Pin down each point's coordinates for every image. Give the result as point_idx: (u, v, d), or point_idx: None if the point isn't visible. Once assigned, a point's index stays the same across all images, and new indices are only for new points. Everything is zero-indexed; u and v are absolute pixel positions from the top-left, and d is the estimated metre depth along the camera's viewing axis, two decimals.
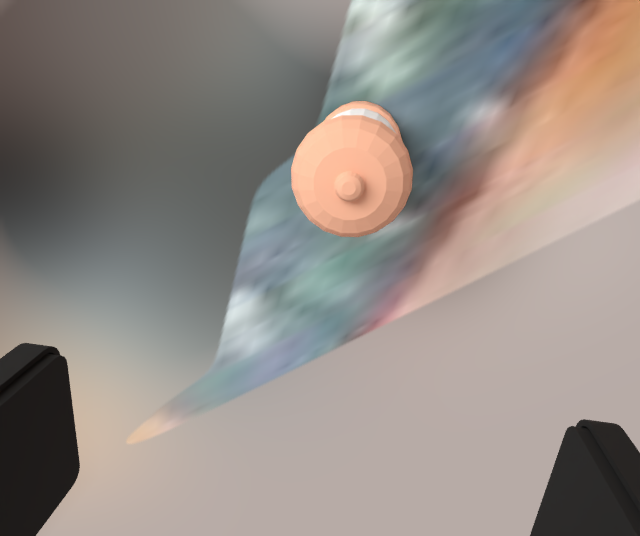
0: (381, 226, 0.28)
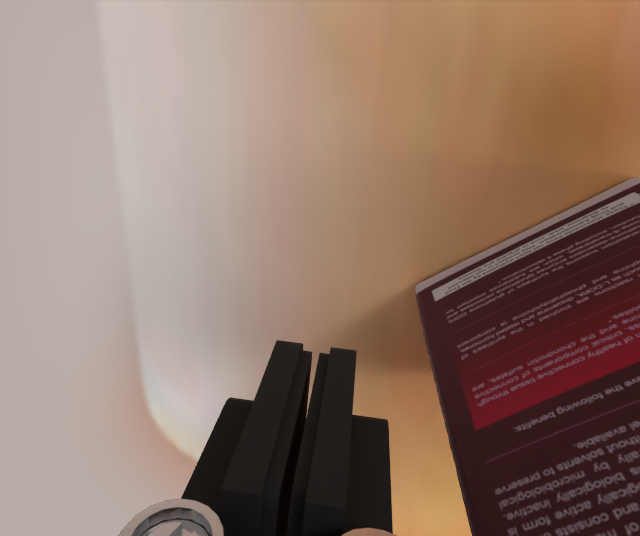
0: None
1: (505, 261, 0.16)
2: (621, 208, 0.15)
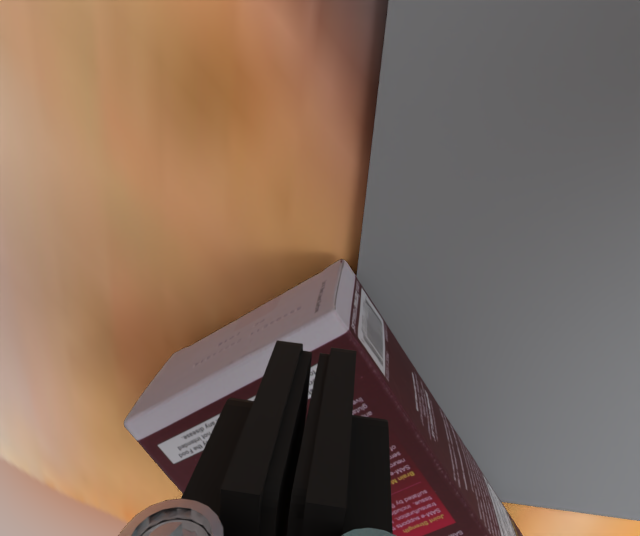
0: None
1: None
2: None
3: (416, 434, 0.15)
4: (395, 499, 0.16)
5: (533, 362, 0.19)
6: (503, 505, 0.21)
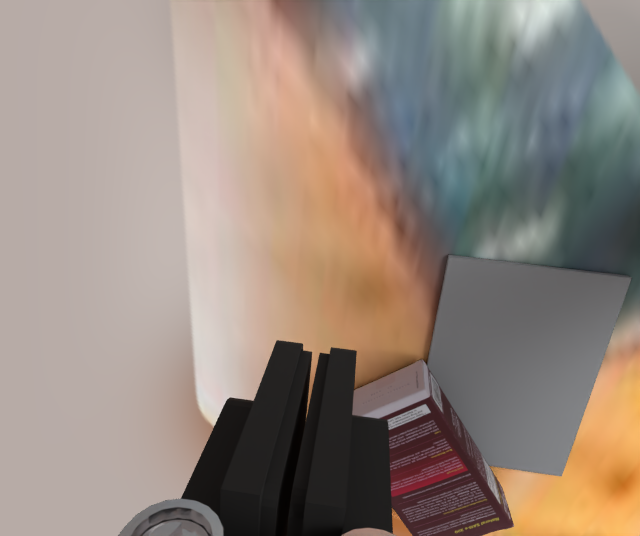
0: None
1: None
2: (421, 414, 0.39)
3: (453, 434, 0.39)
4: (444, 460, 0.40)
5: (503, 403, 0.43)
6: None
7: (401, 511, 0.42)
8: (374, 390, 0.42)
